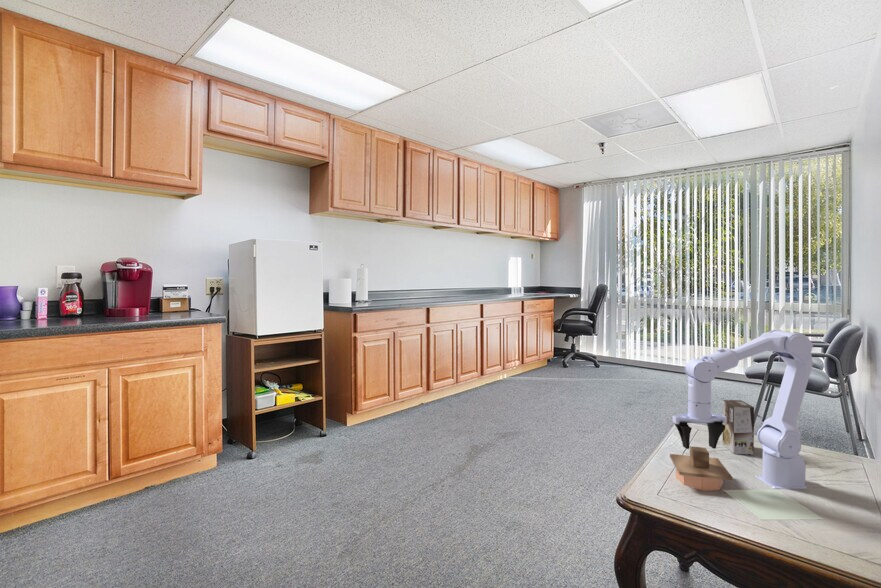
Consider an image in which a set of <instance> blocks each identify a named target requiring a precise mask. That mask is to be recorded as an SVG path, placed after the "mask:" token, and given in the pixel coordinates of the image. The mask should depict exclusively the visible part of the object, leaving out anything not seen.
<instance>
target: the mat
mask: <svg viewBox="0 0 881 588" xmlns="http://www.w3.org/2000/svg"><path fill="white" fill-rule="evenodd" d="M722 491H723V492H725V493H726V494H727V495H729V496H730V498H733V500H735V501H737V502H738V503H739V504H741V505H742V506H743V507H744V508H746V509H747V510H748V511H749V512H751V513H752V514H754V515H755V516H756V517H758V519H760V520H761V521H793V520H795V521H796V520H797V521H798V520H799V521H801V520H804V521H805V520H813V521H814V520H815V521H816V520H817V521H818V520H824V518H822V517H821V516H819V515H818V514H816V513H815V512H813V511H811V510H810V509H809V508H807V507H806V506H804V505H802V504H801V503H800V502H797V501H796V500H794V499H793V498H791V497H790V496H788V495H787V494H785V493H784V492H782V491H780V489H723V490H722Z"/></svg>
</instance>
